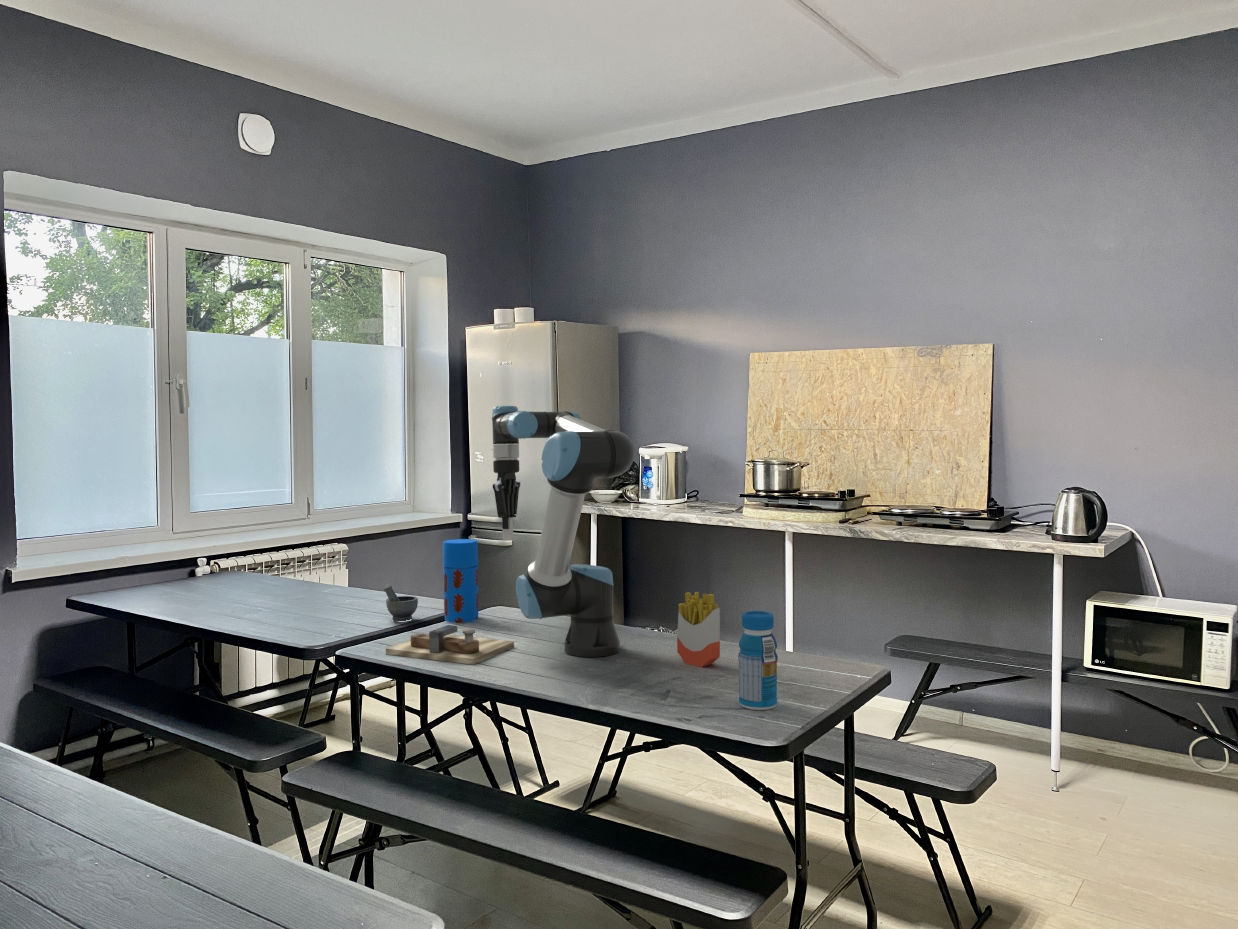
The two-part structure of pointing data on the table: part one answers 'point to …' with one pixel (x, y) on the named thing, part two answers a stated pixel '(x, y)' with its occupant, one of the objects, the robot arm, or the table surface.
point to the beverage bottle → (757, 662)
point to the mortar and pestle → (400, 605)
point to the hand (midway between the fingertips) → (507, 540)
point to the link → (450, 642)
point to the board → (485, 651)
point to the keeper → (439, 638)
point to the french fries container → (698, 630)
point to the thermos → (460, 580)
